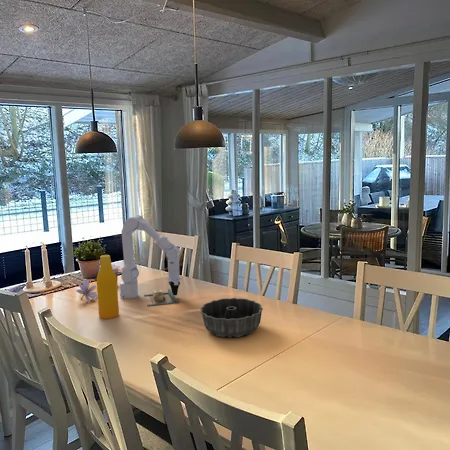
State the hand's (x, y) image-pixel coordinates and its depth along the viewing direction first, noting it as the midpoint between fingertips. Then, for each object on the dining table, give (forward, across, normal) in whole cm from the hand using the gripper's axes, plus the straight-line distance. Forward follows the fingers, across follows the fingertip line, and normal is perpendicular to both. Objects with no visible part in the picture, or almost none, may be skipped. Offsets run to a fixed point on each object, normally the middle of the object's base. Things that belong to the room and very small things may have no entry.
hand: (174, 295), depth 228 cm
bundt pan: (+3, -49, -16) cm, 52 cm away
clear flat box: (+2, 0, +7) cm, 7 cm away
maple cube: (+2, 0, +9) cm, 9 cm away
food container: (+3, +39, +34) cm, 51 cm away
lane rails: (+2, 0, +7) cm, 7 cm away
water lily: (+3, +14, +43) cm, 46 cm away
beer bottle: (+3, -14, +34) cm, 36 cm away
